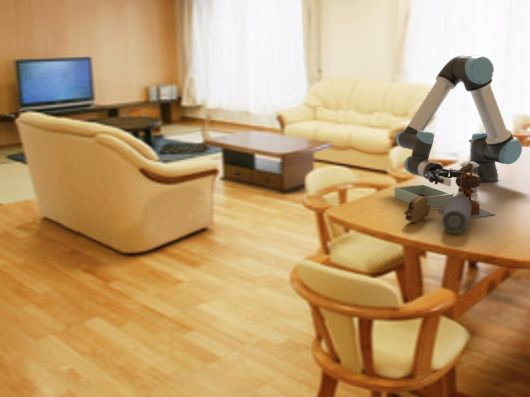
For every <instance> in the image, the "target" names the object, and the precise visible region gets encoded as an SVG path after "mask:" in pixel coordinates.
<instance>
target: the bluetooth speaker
mask: <svg viewBox="0 0 530 397" xmlns="http://www.w3.org/2000/svg"><path fill="white" fill-rule="evenodd" d="M445 207H446V208H445ZM445 207H444V208H445V209H444V213H442V219H441V222H442V226H443V228H444V229H445V230H446V231H447V232H449V233H455V234H457V233H461V232H462V231H464V230H465V228H466V227H467V226H468V223H469V221H470V220H471V219H470V216H471V202H470V200H469V199H468V198H467V197H466V196H463V195H456V194H455V195H453V197H452V198H451V199H450V200H449V202H448V204H447V205H445Z"/></svg>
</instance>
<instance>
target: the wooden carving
mask: <svg viewBox="0 0 530 397" xmlns="http://www.w3.org/2000/svg"><path fill="white" fill-rule="evenodd" d="M427 197H428V196H426V195H423V196H422V195H419V196H418V197H416V198H414V199H413V200H411V201H410V202H409V203H408V206H407V207H408V208H407V210H406V211H405V210H404V212H403V214H404V215H405V220H406V221H408V222H411V223H414V224H417V223H420V222H421V221H422V220H424V218H427V217H428V216H429V214H430V210H431V208H432V207H431V206H430V205H428V204H427V202H428V198H427Z"/></svg>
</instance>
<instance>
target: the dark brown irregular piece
mask: <svg viewBox="0 0 530 397" xmlns="http://www.w3.org/2000/svg"><path fill="white" fill-rule="evenodd" d="M472 168H473V165H472V164H471V163H468V164H467V166H464V167H462V166H461V168H459V169H458V170H459V171H457V173H464V175H461V176H458V177H457V178H455V184H456V186H458V189H457V190H458V192H460V195H463V196H466V197H467V198H468V199H469V200H470V202H471V215H477V214H479V211H480V209H481V204H480V203H479V202H477V201H476V200H472V198H471V194H472V193H474V191H473V190H472V188H477V189H478V187H480V186H481V184H482V182H481V180H480V178H479V177H477V176H473V175H472V173H471V174H470V175H468V172H470V171H471V170H472ZM465 173H466V174H465ZM459 187H462V188H459ZM462 191H463V194H461V192H462ZM458 192H457V193H458Z"/></svg>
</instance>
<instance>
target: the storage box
mask: <svg viewBox="0 0 530 397" xmlns="http://www.w3.org/2000/svg"><path fill="white" fill-rule="evenodd" d="M393 194H394V195H393V196H394V199H398V200H400V201H402V202H404V203H407V204H409V202H410V201H411V200H413V199H414V198H416V197H418V196H422V195H423V196H425V197H427V198H428V202H427V204H428V205H430V206H431V208H436V207H437V208H438V207H444V206H445V207H446V205H447V204H448V202H449V200H450V199H451V198H452V197H454V196H455V195H454V193H452V192H448V191H446V190H443V189H440V188H438V187H434V186H432V185H429V184H426V183H422V184H414V185H413V184H412V185H405V186H397V187H394V193H393Z"/></svg>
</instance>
